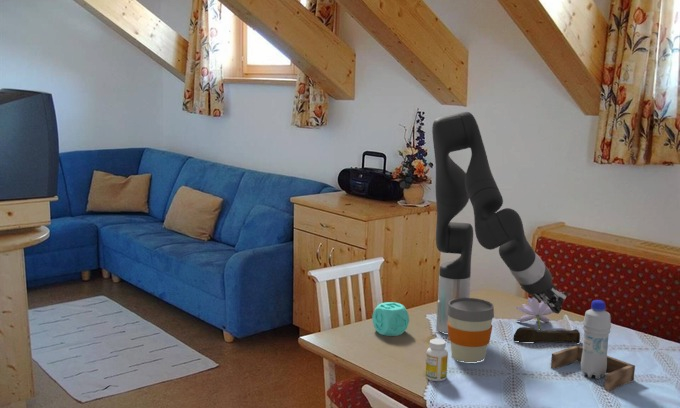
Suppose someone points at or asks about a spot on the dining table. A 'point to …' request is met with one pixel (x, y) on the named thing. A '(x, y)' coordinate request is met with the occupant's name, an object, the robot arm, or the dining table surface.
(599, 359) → the bottle
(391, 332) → the decorative dice
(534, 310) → the water lily
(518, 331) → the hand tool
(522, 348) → the dining table surface
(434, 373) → the supplement bottle
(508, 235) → the robot arm
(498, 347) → the dining table surface
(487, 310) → the reusable coffee cup
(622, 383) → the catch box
